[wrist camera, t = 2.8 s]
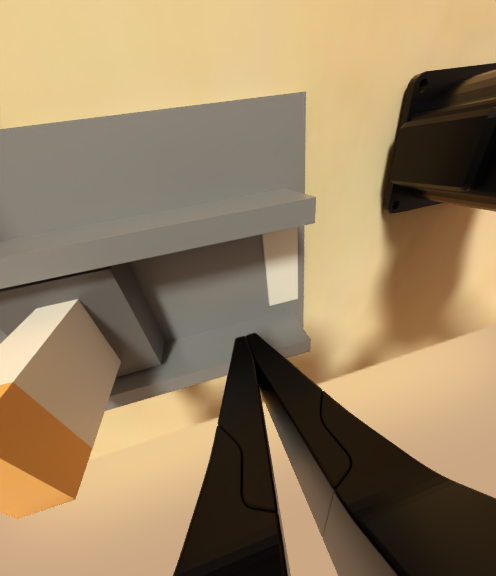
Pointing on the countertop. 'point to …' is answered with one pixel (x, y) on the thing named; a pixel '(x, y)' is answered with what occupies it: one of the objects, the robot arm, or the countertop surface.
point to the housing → (170, 223)
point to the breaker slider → (64, 377)
